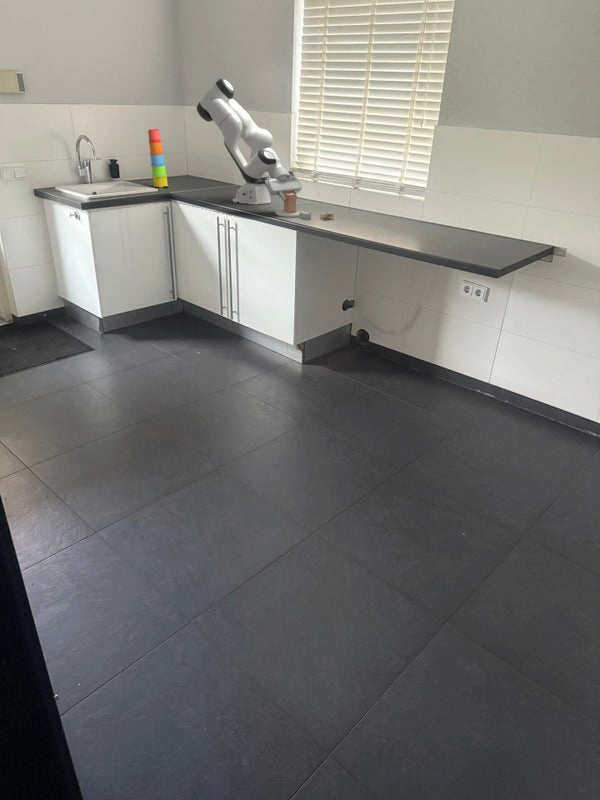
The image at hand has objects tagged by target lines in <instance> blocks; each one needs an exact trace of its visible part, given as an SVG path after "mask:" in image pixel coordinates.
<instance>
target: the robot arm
mask: <svg viewBox="0 0 600 800" xmlns="http://www.w3.org/2000/svg"><path fill="white" fill-rule="evenodd" d="M234 96H235V90H234V88H233V86H232V84H231V83H230V82H229V81H228V80H226V79H225V78H219V79H218V80H217V81H216V82H215V83H214V84H212V86H211V87H210V88H209V89H208V90H207V91H206V93H205V94H204V95H203V97H202V98H201V99H200V101H199V102H198V103H197V105H196V112H197V113H198V115H199V117H200V118H201V119H203V120H204V121H206V122H212V121H213V122H214V124H215V125H216V126H217V127H218V129H219V130H220V132H221V133H222V136H223V139H224V142H223V143H224V146H225V148H226V149H227V152H228V153H229V155H230V157H231V158H232V160H233V161H234V163H235V165H236V167H237V168H238V169H239V171H240V173H241V176H242V178H243V180H244V181H245V183H244V184H243V185H242V186H240V187H239V188H238V189H237V191H236V195H235V198H233V199H232V201H233V202H232V203H237V202H239V204H246V203H247V204H248V205H260V204H261V205H262V204H270V203H272V200H271V196H278V197H279V198H280V199H281V200H282V201H283V202H284V201H286V200H287V198H286V196H284V194H288V193H292V194H296V200H298V199H299V196H298V193H301V191H302V190H303V185H302V183H301V181H300V179H299V177H297V175H296V172H294V171H291V170H288V169H285V167H284V166H283V165H282V161H281V159H280V157H279V156H278V155H277V153H276V151H275V150H274V149H273V148H271V147H272V146H273V142H274V138H273V135H272V133H270V131H268V130H267V129H264V128H260V127H259V126H258V125H257V124H256V123H255V121H254V120H253V119H252V118H251V115H250V114H249V113H248V112H247V111H246V110H245V108H243V106H241V105H240V104H239V103H238V102H237V101H236V100H235V99H234ZM240 138H241V140H242V141H243V142H244V143H245V144H246V145H247V147H249V148H250V150H251V151H250V156H249V160H248V162H247V161H246V158H245V156H244V155H243V154H242V153H241V151H240V148H239V142H240ZM247 204H246V205H247Z"/></svg>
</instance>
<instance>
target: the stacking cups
mask: <svg viewBox="0 0 600 800" xmlns="http://www.w3.org/2000/svg"><path fill="white" fill-rule="evenodd" d="M147 134H148V144H149V150H150V151H149V154H150V161H151V164H150V166H151V169H152V170H151V171H152V175H151V177H152V182H153V186H157V187H158V186H159V187H163V186H169V185H168V174H167V171H166V163H165V159H164V158H165V157H164V152H163V145H162V140H161V133H160V130H159V129H158V128H152V129H148V131H147Z"/></svg>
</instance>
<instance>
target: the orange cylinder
mask: <svg viewBox="0 0 600 800" xmlns="http://www.w3.org/2000/svg"><path fill="white" fill-rule="evenodd" d="M283 195H284V196H286V198H287V200H286V201H283V210H284V212H286V213H295V212H296V210H297V199H296V194H293V193H288V194H283Z"/></svg>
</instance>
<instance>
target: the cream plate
mask: <svg viewBox="0 0 600 800" xmlns="http://www.w3.org/2000/svg"><path fill="white" fill-rule="evenodd" d="M299 212H304V211H302V210H299V209H296V212H295V213H286V212H284V209H280V210H276V211H275V215H276V216H277V215H278V216H277V217H281V216H282V217H283V218H299Z"/></svg>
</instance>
